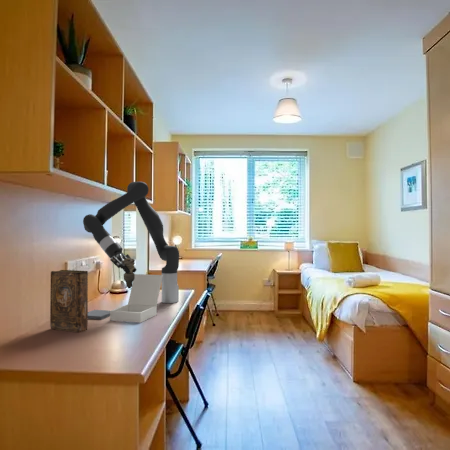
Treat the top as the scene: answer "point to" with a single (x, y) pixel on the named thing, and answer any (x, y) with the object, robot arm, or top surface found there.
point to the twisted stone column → (131, 275)
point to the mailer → (140, 300)
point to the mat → (98, 314)
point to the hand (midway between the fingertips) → (132, 271)
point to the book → (69, 300)
